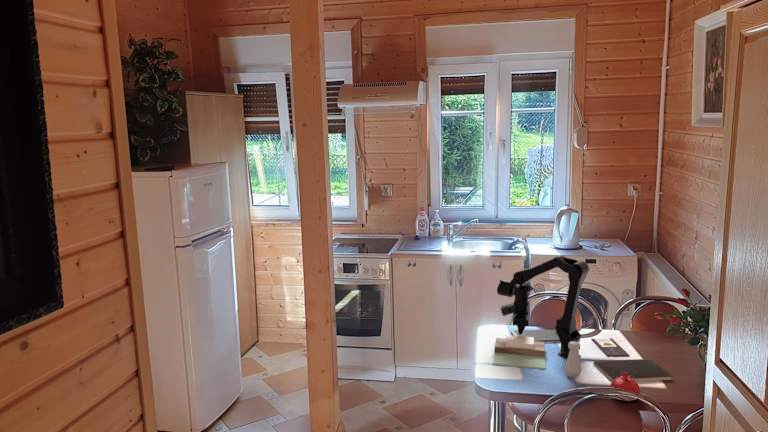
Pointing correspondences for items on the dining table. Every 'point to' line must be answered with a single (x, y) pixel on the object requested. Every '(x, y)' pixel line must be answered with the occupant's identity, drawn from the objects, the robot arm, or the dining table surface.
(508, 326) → the dining table surface
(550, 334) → the smartphone
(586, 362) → the dining table surface
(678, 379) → the dining table surface
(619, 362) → the hardcover book
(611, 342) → the chocolate bar
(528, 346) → the pale pink slab
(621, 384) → the pomegranate
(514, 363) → the mat
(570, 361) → the salt shaker
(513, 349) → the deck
